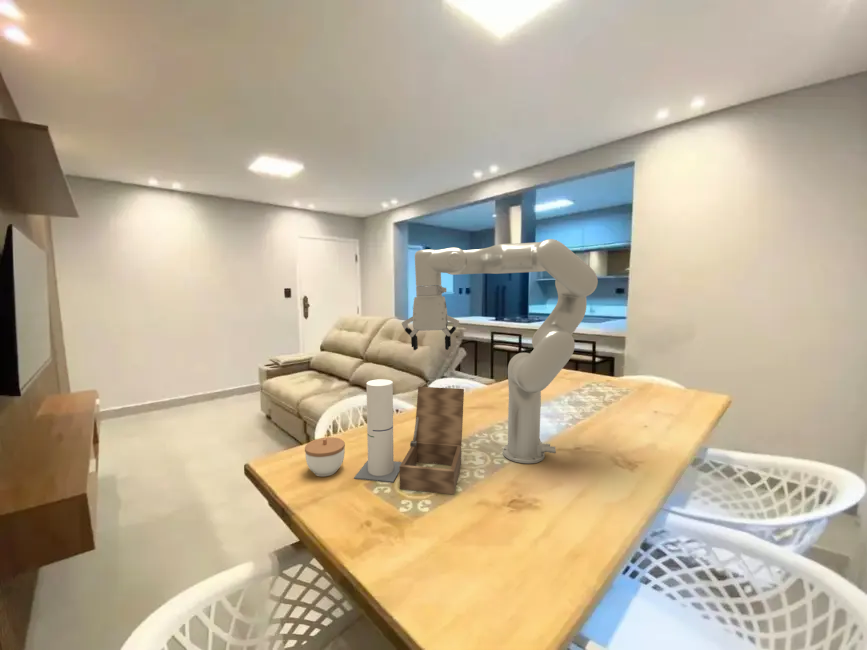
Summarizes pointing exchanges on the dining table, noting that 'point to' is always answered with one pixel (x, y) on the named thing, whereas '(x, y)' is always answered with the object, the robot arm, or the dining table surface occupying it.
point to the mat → (365, 475)
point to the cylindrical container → (380, 427)
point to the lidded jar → (325, 455)
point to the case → (435, 441)
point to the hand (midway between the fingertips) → (431, 349)
